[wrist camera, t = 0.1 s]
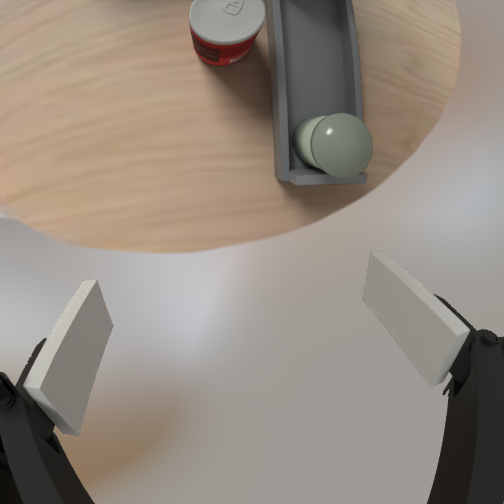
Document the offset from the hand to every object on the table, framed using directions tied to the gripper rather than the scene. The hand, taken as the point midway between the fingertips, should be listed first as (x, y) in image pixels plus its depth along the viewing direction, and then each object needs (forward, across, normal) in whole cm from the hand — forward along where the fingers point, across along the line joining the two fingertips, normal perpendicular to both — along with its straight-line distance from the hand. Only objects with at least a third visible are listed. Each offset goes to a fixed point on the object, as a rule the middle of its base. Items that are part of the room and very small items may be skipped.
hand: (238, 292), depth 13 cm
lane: (+28, +14, +17) cm, 35 cm away
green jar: (+27, +14, +5) cm, 31 cm away
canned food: (+28, +1, +20) cm, 35 cm away
